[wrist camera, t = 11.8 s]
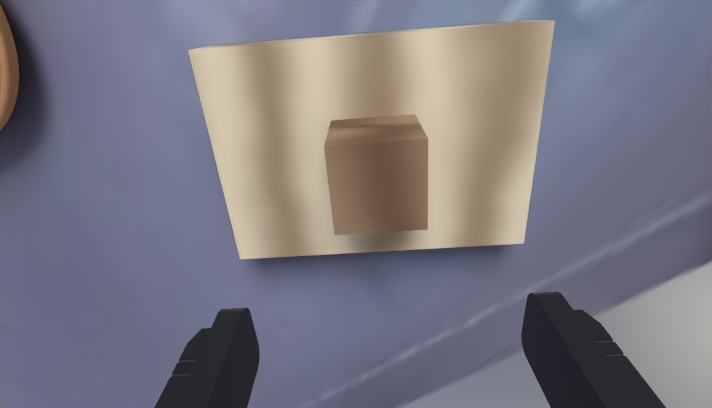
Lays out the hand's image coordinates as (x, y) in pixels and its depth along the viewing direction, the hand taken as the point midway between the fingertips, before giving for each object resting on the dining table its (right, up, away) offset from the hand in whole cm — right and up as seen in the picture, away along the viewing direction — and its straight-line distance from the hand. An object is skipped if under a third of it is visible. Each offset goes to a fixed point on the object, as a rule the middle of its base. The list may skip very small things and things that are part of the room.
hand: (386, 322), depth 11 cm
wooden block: (0, +8, +16) cm, 17 cm away
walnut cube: (0, +6, +13) cm, 14 cm away
